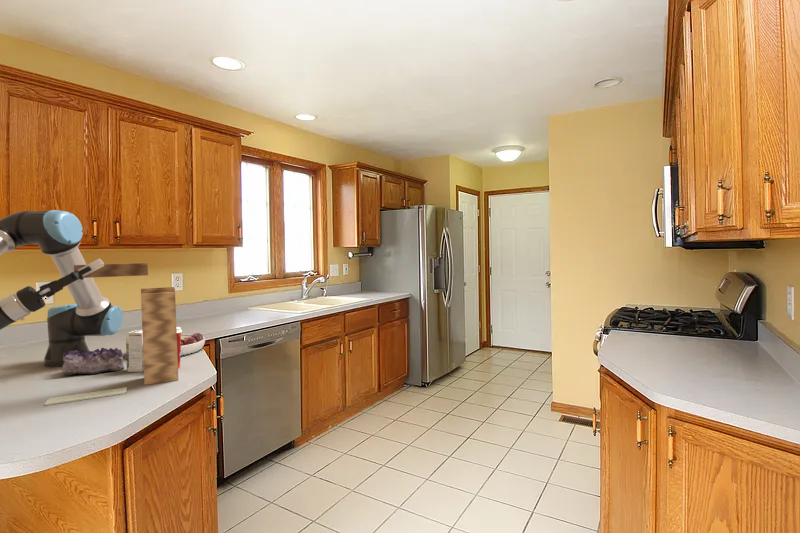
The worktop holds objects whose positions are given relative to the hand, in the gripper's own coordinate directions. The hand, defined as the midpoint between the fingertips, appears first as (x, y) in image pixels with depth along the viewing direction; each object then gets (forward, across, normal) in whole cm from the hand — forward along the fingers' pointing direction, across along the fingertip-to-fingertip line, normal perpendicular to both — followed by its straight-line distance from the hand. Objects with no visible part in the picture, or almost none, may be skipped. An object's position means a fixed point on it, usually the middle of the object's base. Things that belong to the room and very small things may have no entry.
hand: (102, 262), depth 144 cm
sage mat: (-24, +9, -33) cm, 42 cm away
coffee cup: (-4, -13, -45) cm, 47 cm away
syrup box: (-13, -17, -40) cm, 45 cm away
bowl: (-4, -44, -45) cm, 63 cm away
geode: (-26, -24, -33) cm, 48 cm away
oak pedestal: (-7, 0, -43) cm, 44 cm away
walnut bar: (0, 0, -6) cm, 6 cm away
